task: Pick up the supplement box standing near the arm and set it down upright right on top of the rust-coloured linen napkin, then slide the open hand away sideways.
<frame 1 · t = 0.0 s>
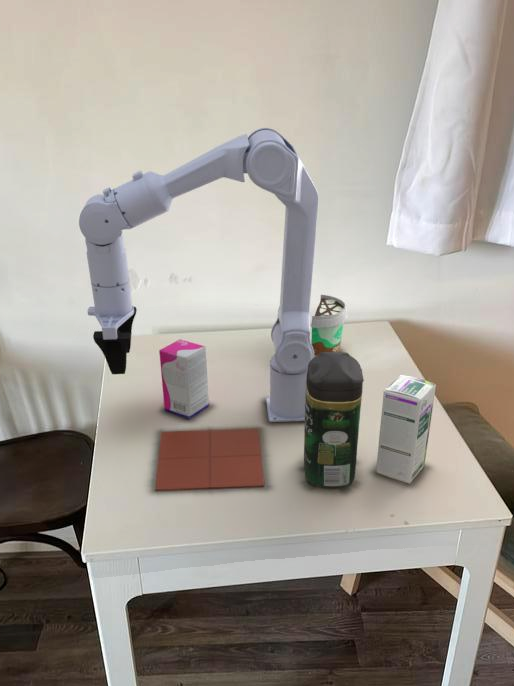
hand: (121, 362, 113), 10 cm above the table, tool pointing down, fingers open, 7 cm apart
syrup box: (399, 470, 106), on the table
coffee jar: (328, 473, 106), on the table
supplement box: (187, 409, 121), on the table
food container: (329, 354, 139), on the table
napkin: (210, 458, 109), on the table
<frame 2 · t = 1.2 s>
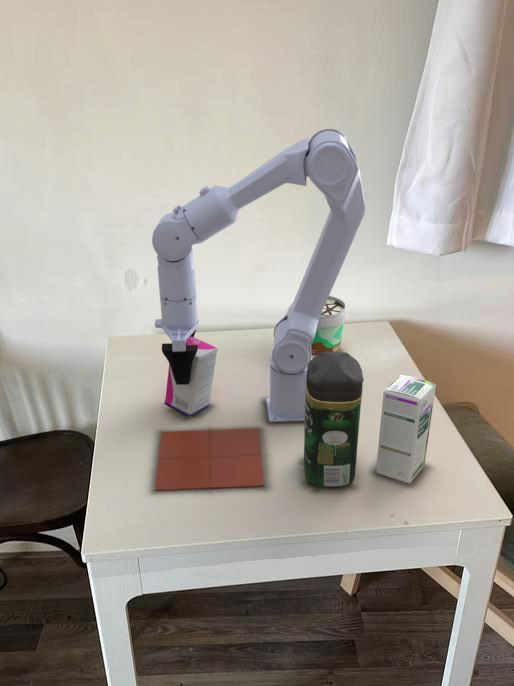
hand: (183, 372, 117), 7 cm above the table, tool pointing down, fingers closed on supplement box, 7 cm apart
supplement box: (186, 406, 121), on the table, touching gripper
everything else where it was.
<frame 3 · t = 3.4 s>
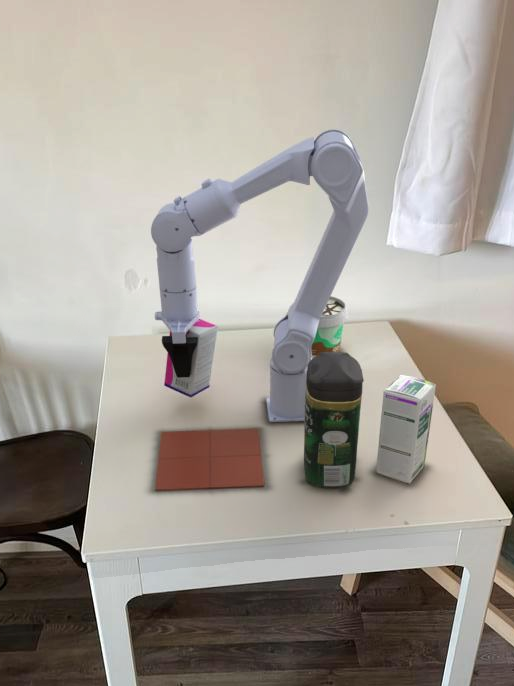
hand: (184, 365, 116), 8 cm above the table, tool pointing down, fingers closed on supplement box, 7 cm apart
supplement box: (186, 387, 119), point 4 cm above the table, touching gripper
everything else where it was.
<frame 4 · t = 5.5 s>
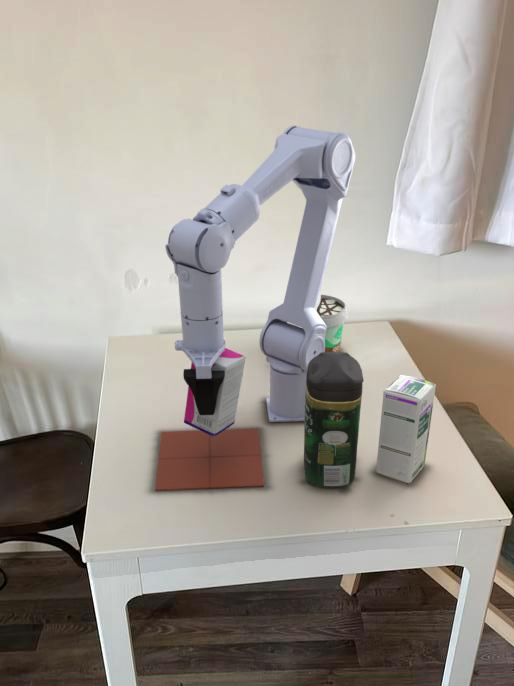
hand: (206, 400, 103), 10 cm above the table, tool pointing down, fingers closed on supplement box, 7 cm apart
supplement box: (209, 424, 105), point 6 cm above the table, touching gripper
everything else where it was.
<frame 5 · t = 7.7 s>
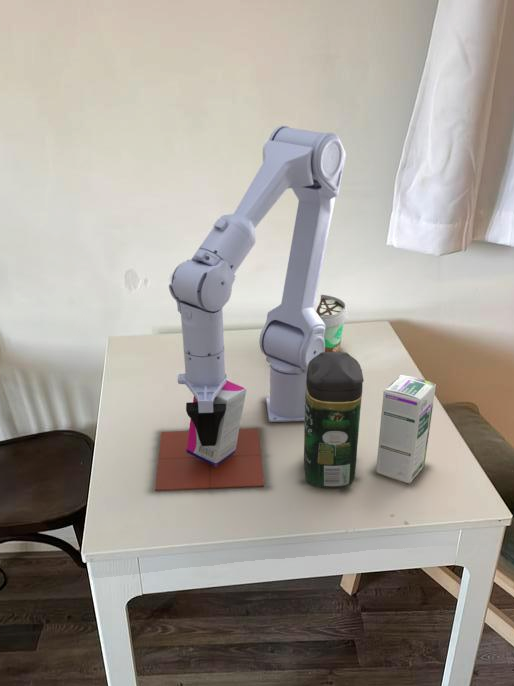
hand: (208, 430, 106), 5 cm above the table, tool pointing down, fingers closed on supplement box, 7 cm apart
supplement box: (210, 453, 108), point 1 cm above the table, touching gripper
everything else where it was.
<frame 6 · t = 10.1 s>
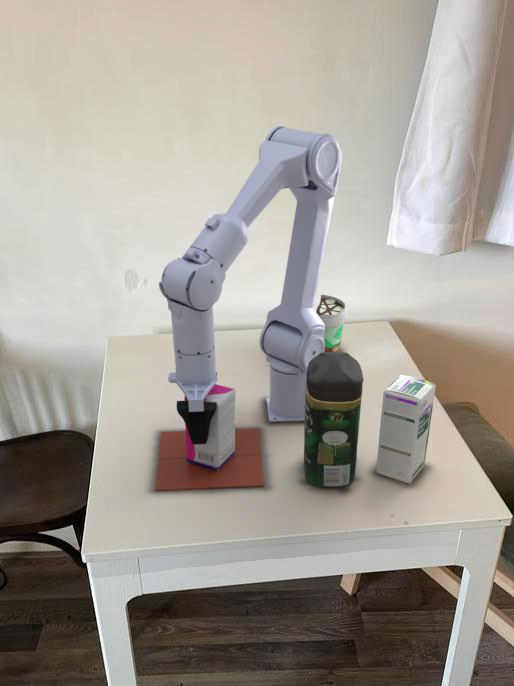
hand: (199, 429, 105), 5 cm above the table, tool pointing down, fingers closed on supplement box, 7 cm apart
supplement box: (210, 458, 108), resting on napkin, touching gripper
everything else where it was.
when the fingers open (5 cm above the table, at t = 10.1 s): supplement box stays where it is, resting on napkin.
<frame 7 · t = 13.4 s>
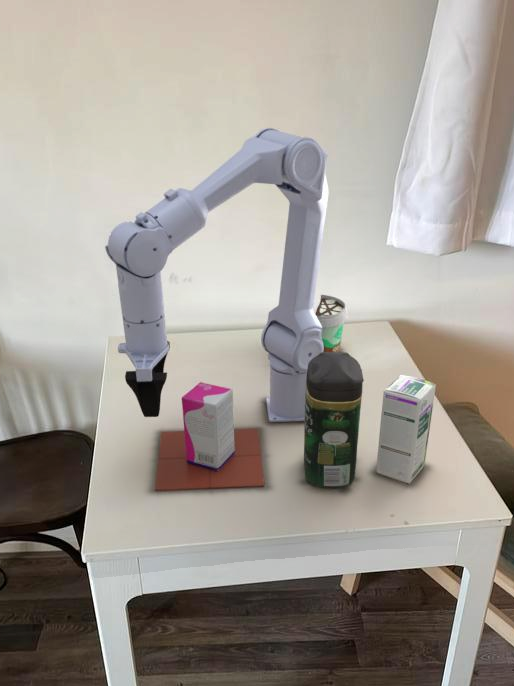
hand: (153, 402, 103), 10 cm above the table, tool pointing down, fingers open, 7 cm apart
supplement box: (210, 458, 108), resting on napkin
everything else where it was.
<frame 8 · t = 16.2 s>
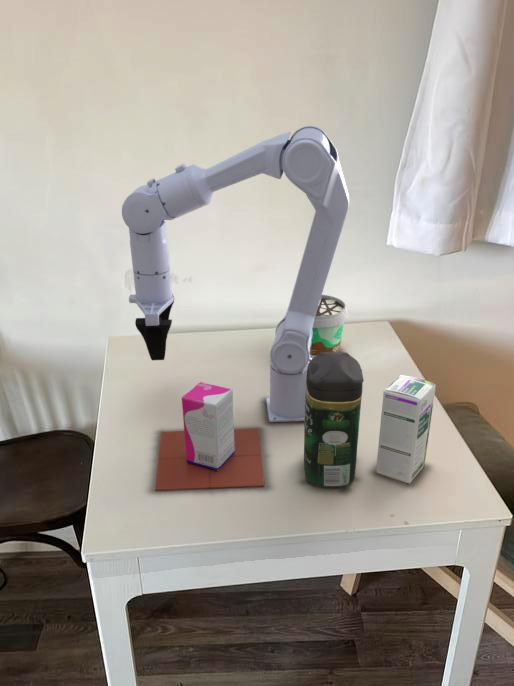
hand: (159, 349, 117), 10 cm above the table, tool pointing down, fingers open, 7 cm apart
nothing on the table moved.
at the end: supplement box inside the target area on the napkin (0.3 cm from its centre), point 0.1 cm above the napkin's base; supplement box tilted 0°; the gripper is holding nothing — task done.
